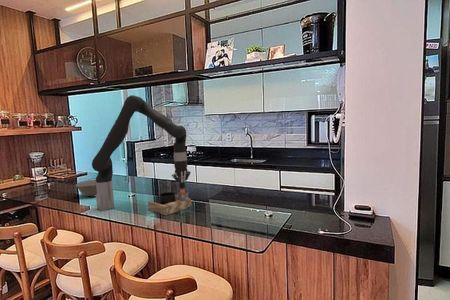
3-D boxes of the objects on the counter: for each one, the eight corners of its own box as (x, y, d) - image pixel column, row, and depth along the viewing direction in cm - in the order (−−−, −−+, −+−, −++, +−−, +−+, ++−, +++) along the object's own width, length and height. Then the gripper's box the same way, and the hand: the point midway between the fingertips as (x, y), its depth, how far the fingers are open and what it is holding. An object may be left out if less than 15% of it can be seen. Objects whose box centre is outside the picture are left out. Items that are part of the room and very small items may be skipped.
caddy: (165, 215, 162) (164, 199, 161) (148, 209, 174) (147, 195, 173) (191, 206, 176) (190, 192, 175) (174, 202, 188) (173, 188, 187)
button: (182, 196, 172) (182, 190, 171) (179, 196, 173) (179, 189, 173) (186, 195, 174) (185, 189, 173) (183, 194, 176) (182, 188, 175)
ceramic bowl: (69, 199, 208) (68, 185, 207) (91, 191, 230) (90, 179, 229) (96, 200, 202) (95, 186, 201) (116, 191, 225) (115, 179, 224)
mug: (181, 205, 179) (180, 191, 178) (170, 211, 168) (169, 196, 167) (168, 204, 183) (167, 190, 182) (157, 210, 172) (155, 195, 171)
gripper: (185, 157, 179) (186, 185, 180) (167, 160, 169) (169, 190, 171) (193, 158, 174) (194, 186, 175) (175, 161, 164) (177, 191, 166)
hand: (182, 188), depth 173 cm, fingers closed
